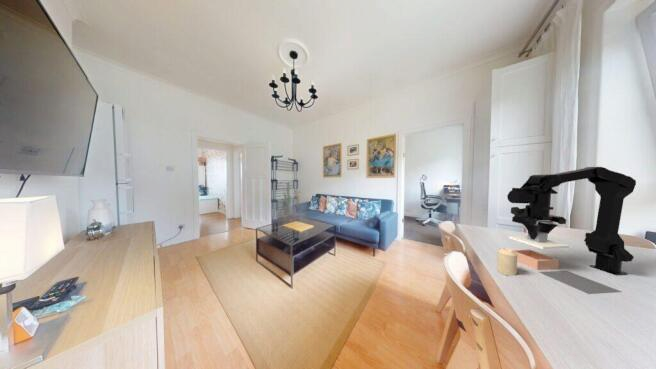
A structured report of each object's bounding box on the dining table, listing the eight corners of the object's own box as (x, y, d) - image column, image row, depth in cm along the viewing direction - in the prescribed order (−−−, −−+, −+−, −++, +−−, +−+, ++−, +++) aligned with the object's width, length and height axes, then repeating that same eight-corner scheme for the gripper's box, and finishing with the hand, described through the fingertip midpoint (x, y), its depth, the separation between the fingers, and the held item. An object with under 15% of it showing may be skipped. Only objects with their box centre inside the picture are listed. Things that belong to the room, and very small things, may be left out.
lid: (531, 237, 83) (532, 227, 82) (568, 247, 71) (569, 236, 70) (509, 238, 82) (509, 228, 81) (543, 249, 70) (543, 237, 69)
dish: (529, 258, 83) (529, 249, 83) (558, 270, 73) (559, 259, 73) (510, 259, 82) (510, 250, 82) (536, 271, 72) (537, 260, 72)
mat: (566, 271, 72) (566, 270, 72) (622, 293, 59) (622, 291, 59) (538, 273, 71) (538, 272, 71) (588, 295, 58) (588, 294, 58)
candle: (520, 277, 68) (521, 252, 67) (503, 276, 69) (505, 251, 68) (508, 270, 73) (510, 246, 73) (493, 268, 74) (494, 245, 74)
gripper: (534, 200, 84) (532, 232, 85) (500, 201, 82) (498, 233, 83) (568, 204, 73) (565, 240, 74) (529, 205, 71) (526, 242, 72)
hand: (536, 238), depth 76 cm, fingers closed on lid, 4 cm apart
